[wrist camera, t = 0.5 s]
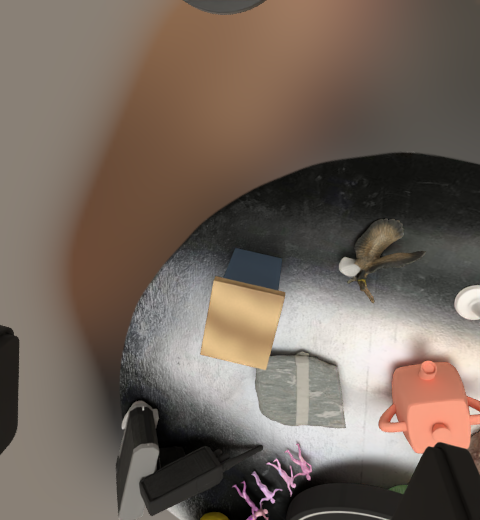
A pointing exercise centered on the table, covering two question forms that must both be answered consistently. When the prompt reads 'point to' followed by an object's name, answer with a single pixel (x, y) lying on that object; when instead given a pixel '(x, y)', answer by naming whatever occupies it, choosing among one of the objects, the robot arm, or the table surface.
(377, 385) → the table surface
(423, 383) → the teapot
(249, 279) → the box
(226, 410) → the table surface
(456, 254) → the table surface
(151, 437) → the camera
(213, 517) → the fruit
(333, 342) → the table surface
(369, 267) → the eagle figurine
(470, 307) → the chess piece
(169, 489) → the walkie-talkie
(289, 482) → the people figure
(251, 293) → the board
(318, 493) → the wall sign
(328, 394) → the decorative stone
